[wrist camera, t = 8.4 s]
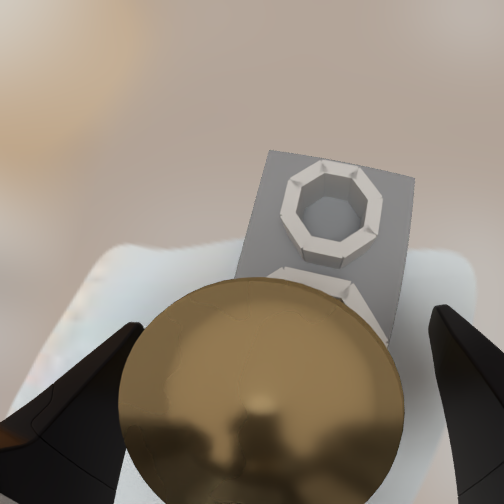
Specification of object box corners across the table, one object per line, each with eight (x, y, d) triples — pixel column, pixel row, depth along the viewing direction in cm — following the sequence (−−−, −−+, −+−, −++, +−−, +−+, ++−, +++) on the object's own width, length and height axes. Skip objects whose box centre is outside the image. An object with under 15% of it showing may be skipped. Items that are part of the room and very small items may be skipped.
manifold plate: (351, 446, 15) (358, 476, 11) (205, 407, 17) (177, 425, 14) (410, 184, 18) (428, 153, 14) (271, 157, 20) (260, 122, 16)
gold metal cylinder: (311, 411, 15) (283, 575, 3) (239, 364, 17) (79, 431, 5) (362, 338, 16) (466, 378, 4) (288, 292, 17) (208, 216, 5)
